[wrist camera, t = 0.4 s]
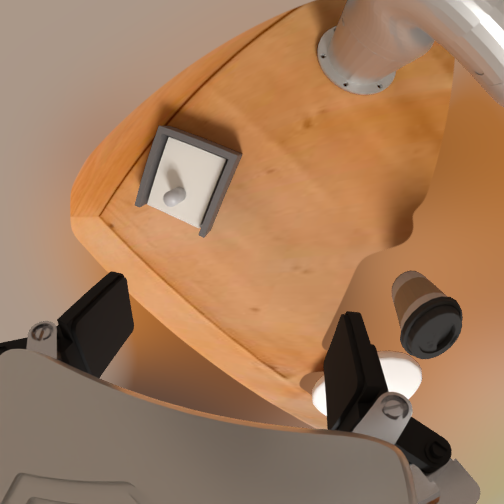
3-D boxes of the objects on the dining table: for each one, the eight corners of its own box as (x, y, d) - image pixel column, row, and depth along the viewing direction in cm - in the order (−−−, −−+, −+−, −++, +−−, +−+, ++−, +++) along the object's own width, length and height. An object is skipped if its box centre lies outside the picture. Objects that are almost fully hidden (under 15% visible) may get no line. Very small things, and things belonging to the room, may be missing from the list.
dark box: (169, 125, 39) (159, 125, 36) (242, 154, 40) (237, 155, 36) (146, 199, 45) (134, 205, 42) (211, 229, 46) (204, 237, 42)
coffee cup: (416, 315, 47) (442, 366, 33) (371, 305, 48) (391, 361, 34) (441, 267, 42) (479, 312, 29) (396, 253, 43) (429, 299, 29)
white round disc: (442, 375, 48) (372, 429, 59) (433, 357, 53) (368, 412, 65) (368, 353, 43) (291, 419, 54) (360, 330, 49) (290, 397, 60)
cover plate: (172, 136, 39) (158, 137, 35) (228, 158, 40) (220, 161, 35) (151, 202, 44) (136, 209, 40) (201, 225, 45) (191, 235, 40)
